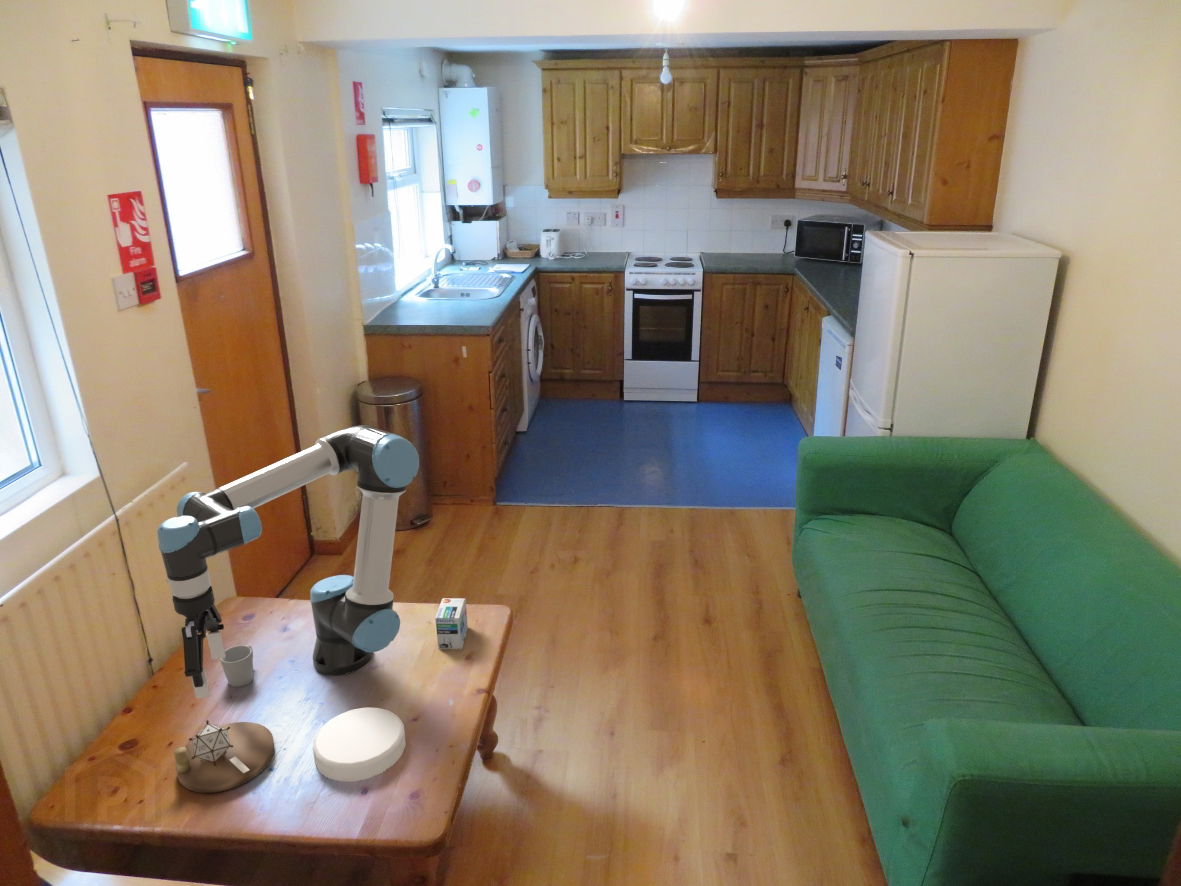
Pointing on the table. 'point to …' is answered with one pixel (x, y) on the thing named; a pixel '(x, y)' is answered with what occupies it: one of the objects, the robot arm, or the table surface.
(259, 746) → the turntable
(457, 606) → the light bulb box
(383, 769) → the container
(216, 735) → the game die
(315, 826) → the table surface
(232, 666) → the cup
